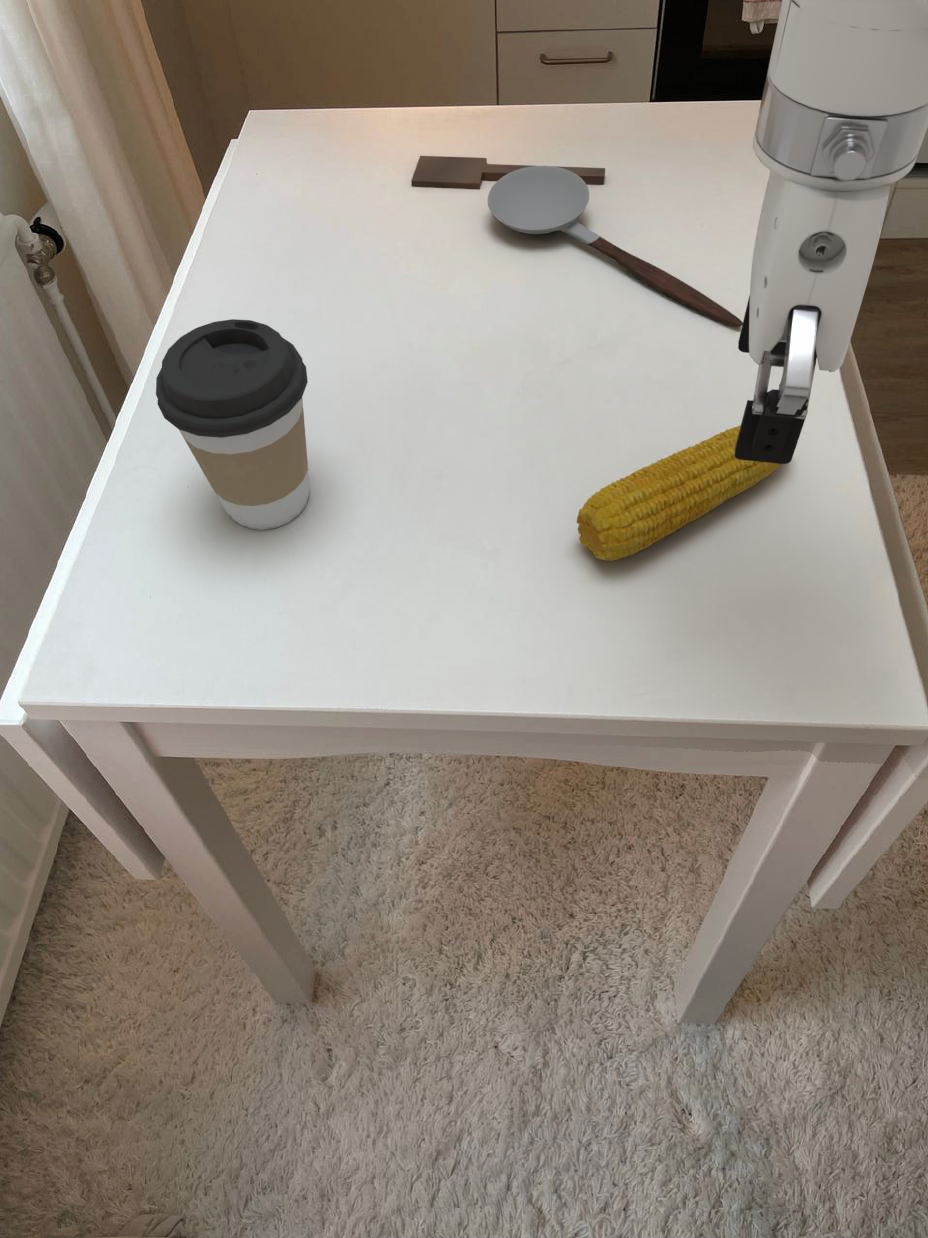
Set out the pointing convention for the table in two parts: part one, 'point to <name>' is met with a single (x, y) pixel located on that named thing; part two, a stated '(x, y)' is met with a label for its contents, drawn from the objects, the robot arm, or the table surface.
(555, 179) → the spoon
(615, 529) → the food
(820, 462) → the table surface
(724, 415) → the table surface
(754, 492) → the table surface
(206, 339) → the coffee cup
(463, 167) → the spatula
